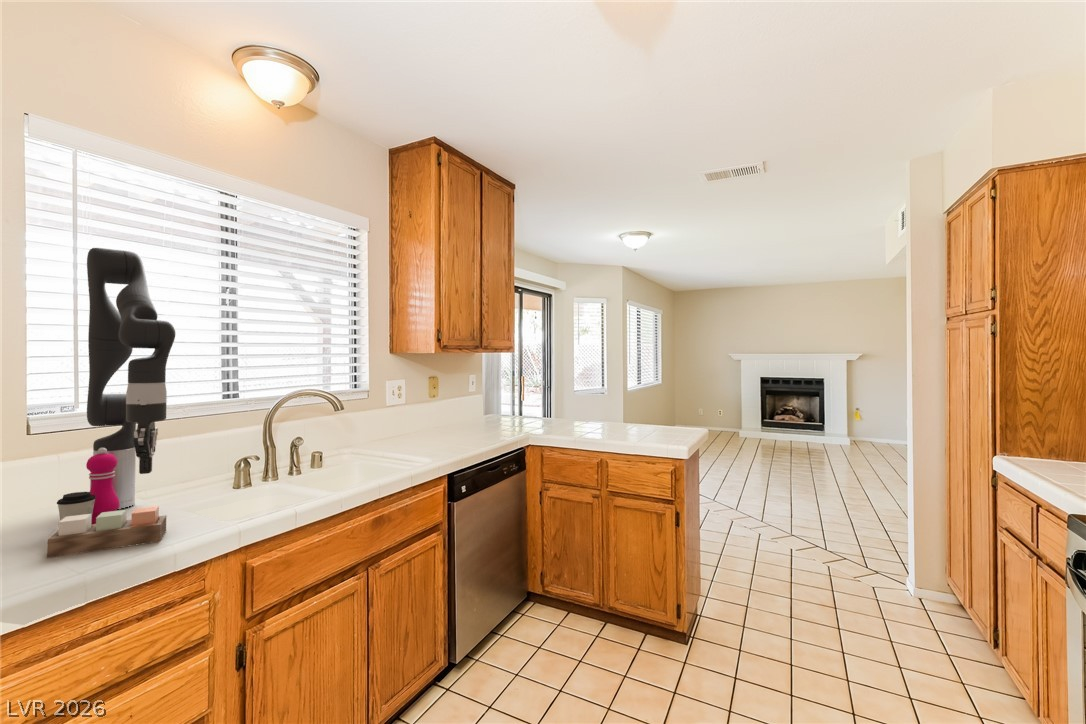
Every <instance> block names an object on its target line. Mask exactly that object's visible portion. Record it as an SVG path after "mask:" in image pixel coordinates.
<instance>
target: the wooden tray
mask: <svg viewBox="0 0 1086 724" xmlns="http://www.w3.org/2000/svg"><path fill="white" fill-rule="evenodd" d="M165 531H166V532H167V515H166V514H165V515H159V520H158V522H157V523H156V524H155V523H150V524H142V525H134V526H131V519H126V524H125V526H124V527H123V528H117V529H109V530H102V531H96V524H91V529H90V530H89V531H88V532H86V533H78V534H71V535H63V536H59V529H58V530H57V531H55V532H54V533H53V534H52V535H51V536H49V537H48V538H47V539H46V540H47V541H46V558H56V557H61V556H62V557H63V556H69V555H75V554H81V553H89V552H97V551H104V550H110V548H111V549H117V547H118V548H123V547H122V546H125V547H130V546H129V545H132V546H137V545H136V544H139V545H143V544H142V543H146V544H151V542H153V543H158V541H160V542H161V541H162V539H163V538H164V536H163V535H165V534H166V532H165ZM164 533H165V534H164ZM162 537H163V538H162Z"/></svg>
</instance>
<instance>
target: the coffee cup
mask: <svg viewBox="0 0 1086 724" xmlns="http://www.w3.org/2000/svg"><path fill="white" fill-rule="evenodd" d="M62 496H63V497H62V498H60V499H58V500H57V502H56V504H57V508H58V514H59V519H60V520H59V522H60V521H61V520H62V519H63V518H65V517H67V516H75V515H84V514H92V513H93V507H94V501H95V499H96V497H95V495H91V494H90V491H75V492H71V493H66V494H63V495H62ZM91 519H92V515H91Z"/></svg>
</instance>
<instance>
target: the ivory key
mask: <svg viewBox="0 0 1086 724" xmlns="http://www.w3.org/2000/svg"><path fill="white" fill-rule="evenodd" d="M91 515H92V514H84V515H75V516H67V517H65V518H63V519H62V520H61V521H60V520H59V522H58V530H59V536H63V535H71V534H78V533H86V532H88V531H89V530H90V529H91Z"/></svg>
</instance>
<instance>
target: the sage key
mask: <svg viewBox="0 0 1086 724" xmlns="http://www.w3.org/2000/svg"><path fill="white" fill-rule="evenodd" d="M126 520H127V509H119V510H116V511H111V512H102V513H101V514H100V515H99V516H98V517H97V518H96V531H102V530H109V529H117V528H123V527H124V526H125V524H126Z"/></svg>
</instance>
